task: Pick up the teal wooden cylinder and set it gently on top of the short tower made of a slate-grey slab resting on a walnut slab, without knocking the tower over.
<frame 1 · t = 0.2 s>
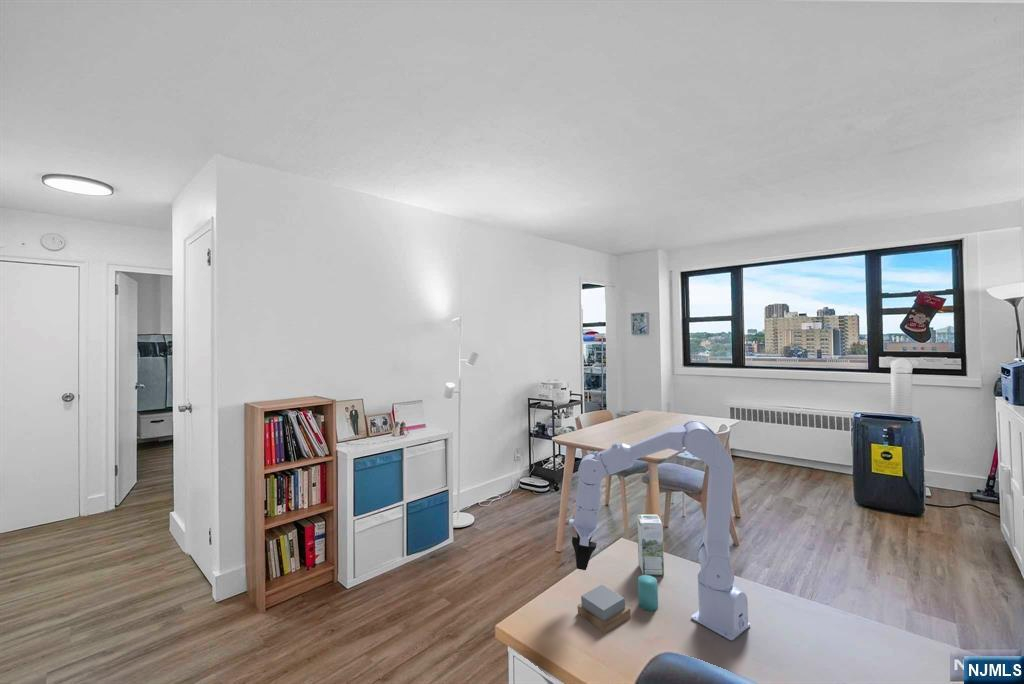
hand: (582, 560, 104), 11 cm above the table, tool pointing down, fingers open, 7 cm apart
grey slab: (603, 607, 100), point 2 cm above the table, touching walnut slab
syrup box: (651, 571, 118), on the table
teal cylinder: (648, 605, 103), on the table
walnut slab: (604, 617, 100), on the table, touching grey slab
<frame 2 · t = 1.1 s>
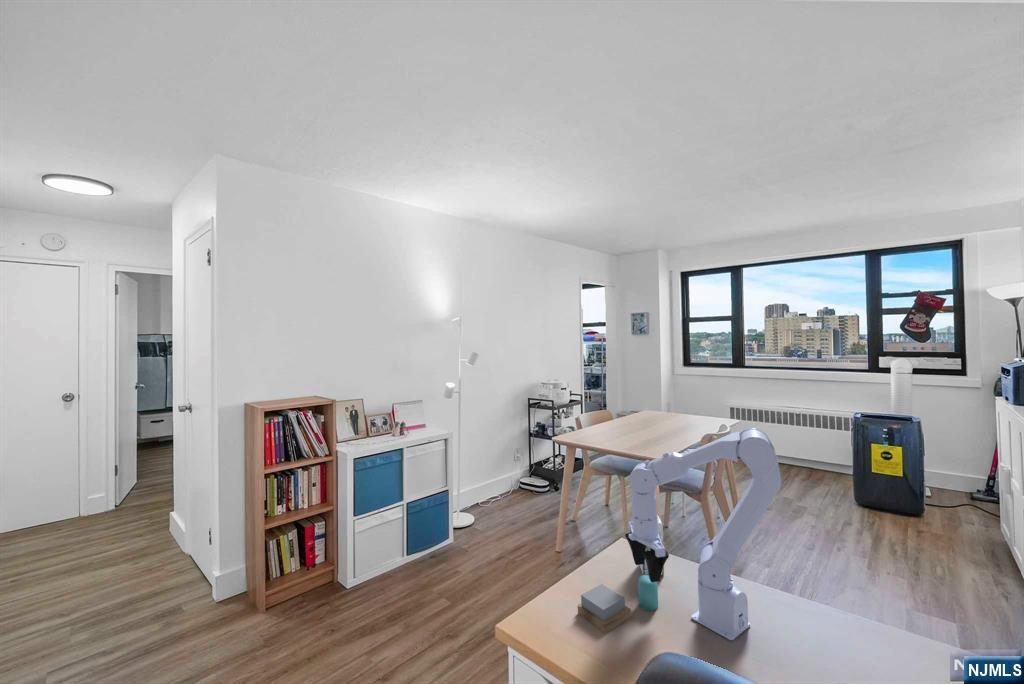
hand: (646, 572, 103), 8 cm above the table, tool pointing down, fingers open, 7 cm apart
nothing on the table moved.
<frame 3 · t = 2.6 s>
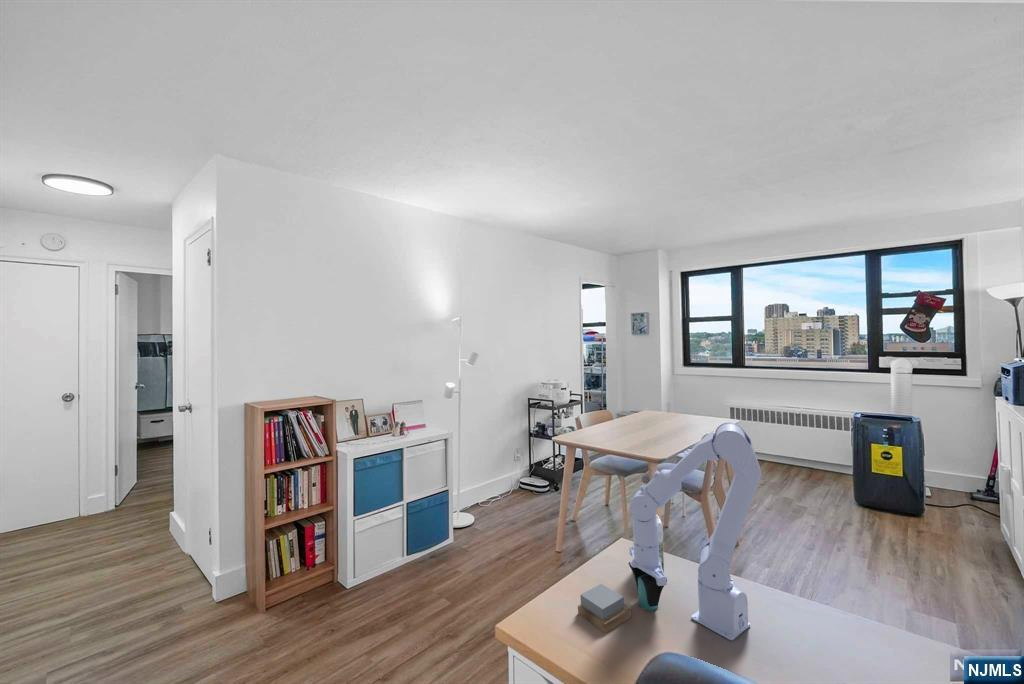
hand: (648, 599, 103), 1 cm above the table, tool pointing down, fingers closed on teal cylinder, 4 cm apart
grey slab: (602, 606, 100), point 2 cm above the table
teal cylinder: (648, 605, 103), on the table, touching gripper
walnut slab: (604, 617, 100), on the table
everything else where it was.
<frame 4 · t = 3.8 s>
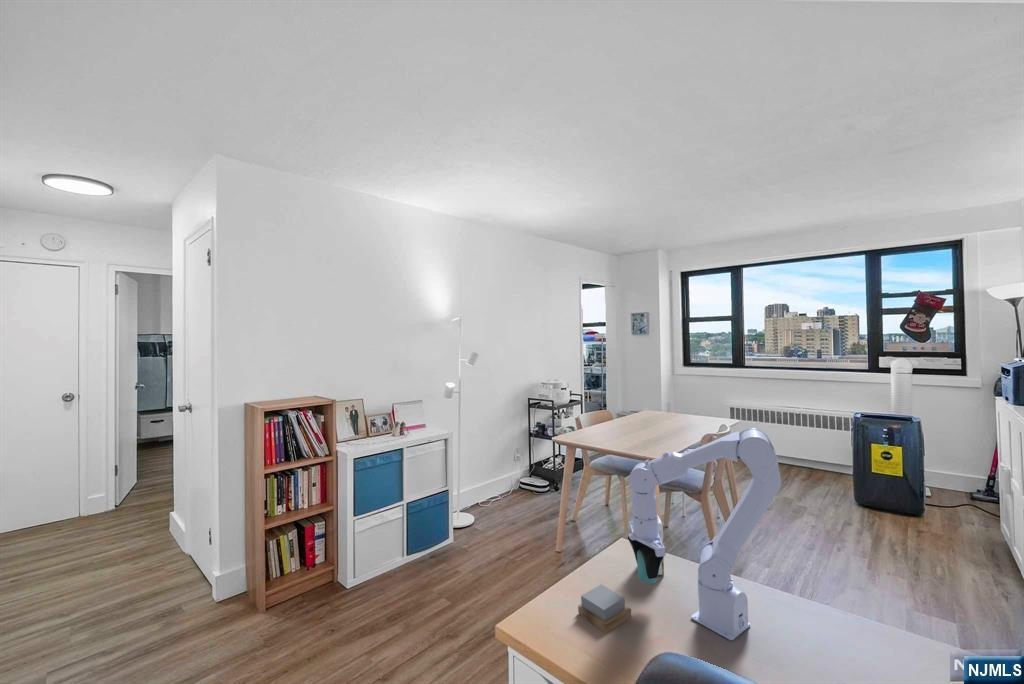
hand: (647, 572, 103), 8 cm above the table, tool pointing down, fingers closed on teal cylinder, 4 cm apart
grey slab: (603, 607, 100), point 2 cm above the table, touching walnut slab
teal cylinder: (647, 578, 103), point 6 cm above the table, touching gripper
walnut slab: (604, 617, 100), on the table, touching grey slab
everything else where it was.
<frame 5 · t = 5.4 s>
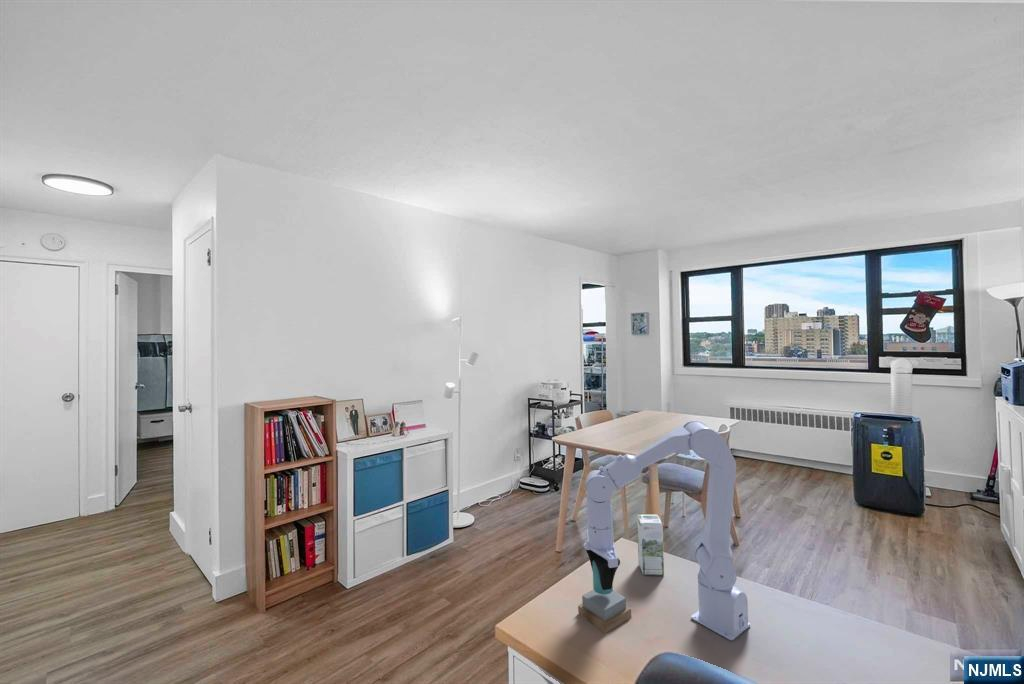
hand: (602, 582, 100), 8 cm above the table, tool pointing down, fingers closed on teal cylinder, 4 cm apart
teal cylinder: (603, 588, 100), point 6 cm above the table, touching gripper
everything else where it was.
when the fingers open (8 cm above the table, at t = 5.6 s): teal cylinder drops 2 cm, point 4 cm above the table.
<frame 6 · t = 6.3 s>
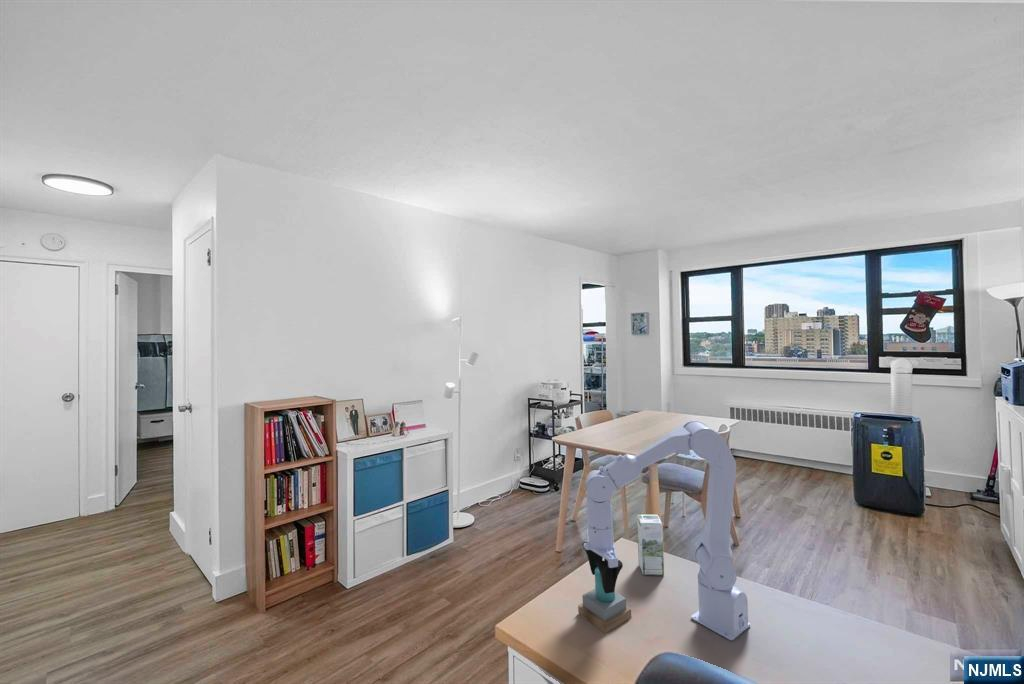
hand: (602, 582, 100), 8 cm above the table, tool pointing down, fingers open, 7 cm apart
grey slab: (604, 607, 100), point 2 cm above the table
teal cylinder: (605, 596, 100), point 4 cm above the table
walnut slab: (604, 617, 100), on the table
everything else where it was.
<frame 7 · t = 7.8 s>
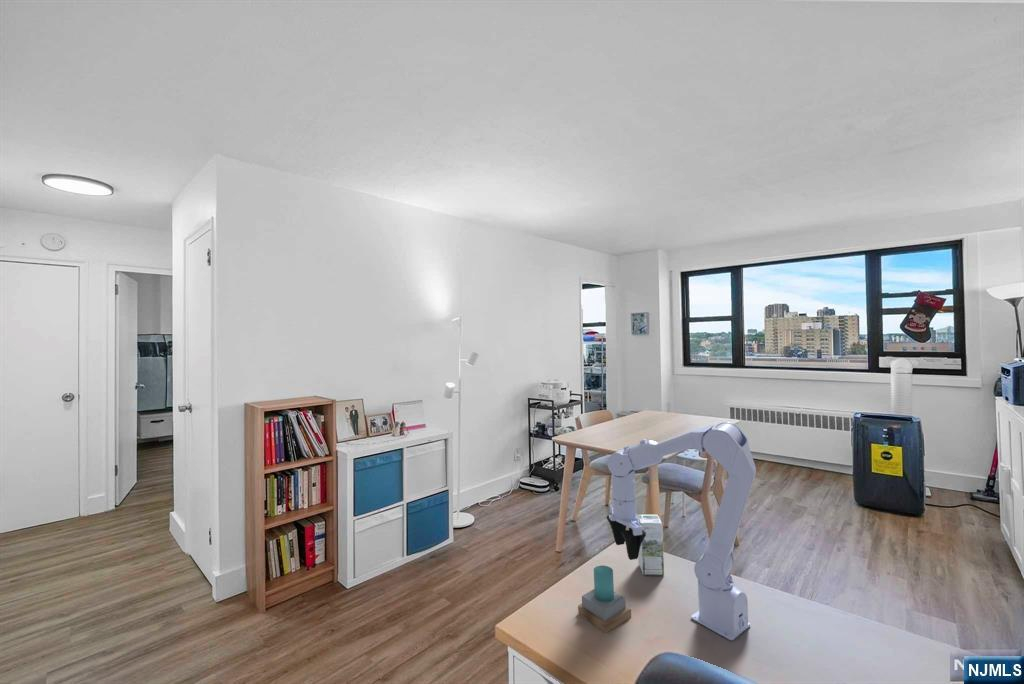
hand: (626, 551, 109), 10 cm above the table, tool pointing down, fingers open, 7 cm apart
grey slab: (603, 607, 100), point 2 cm above the table, touching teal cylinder, walnut slab
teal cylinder: (604, 596, 100), point 4 cm above the table, touching grey slab
walnut slab: (604, 617, 100), on the table, touching grey slab
everything else where it was.
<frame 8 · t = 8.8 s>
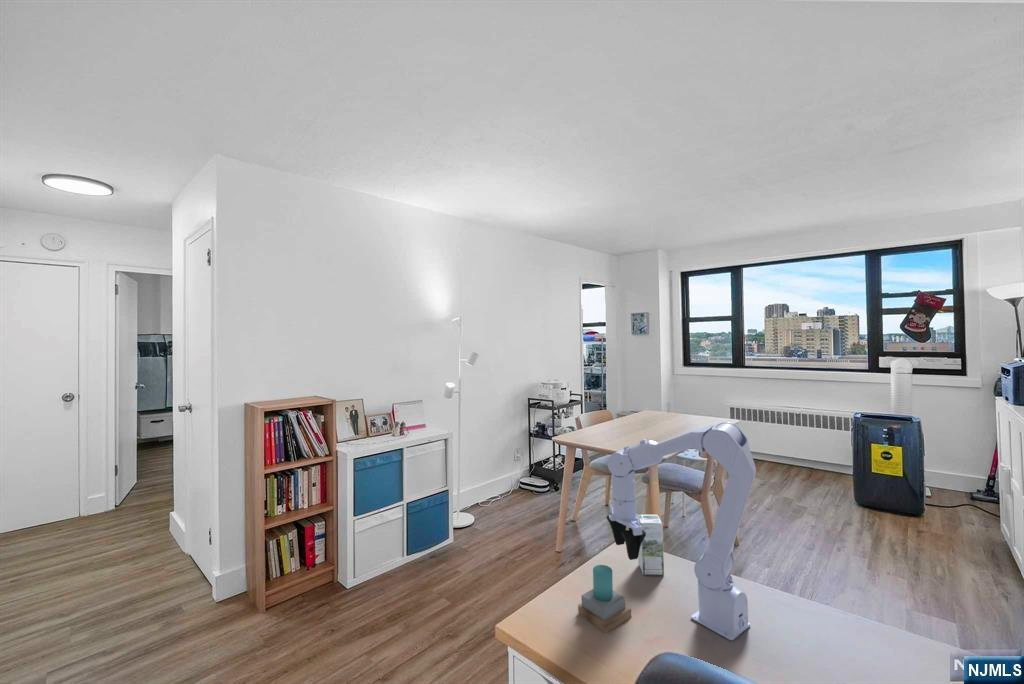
hand: (626, 551, 109), 10 cm above the table, tool pointing down, fingers open, 7 cm apart
nothing on the table moved.
at the end: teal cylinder 0.2 cm off-centre on the walnut slab, point 5.1 cm above the walnut slab's base; grey slab 0.1 cm off-centre on the walnut slab, point 2.5 cm above the walnut slab's base; walnut slab moved 0.8 cm from its start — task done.
